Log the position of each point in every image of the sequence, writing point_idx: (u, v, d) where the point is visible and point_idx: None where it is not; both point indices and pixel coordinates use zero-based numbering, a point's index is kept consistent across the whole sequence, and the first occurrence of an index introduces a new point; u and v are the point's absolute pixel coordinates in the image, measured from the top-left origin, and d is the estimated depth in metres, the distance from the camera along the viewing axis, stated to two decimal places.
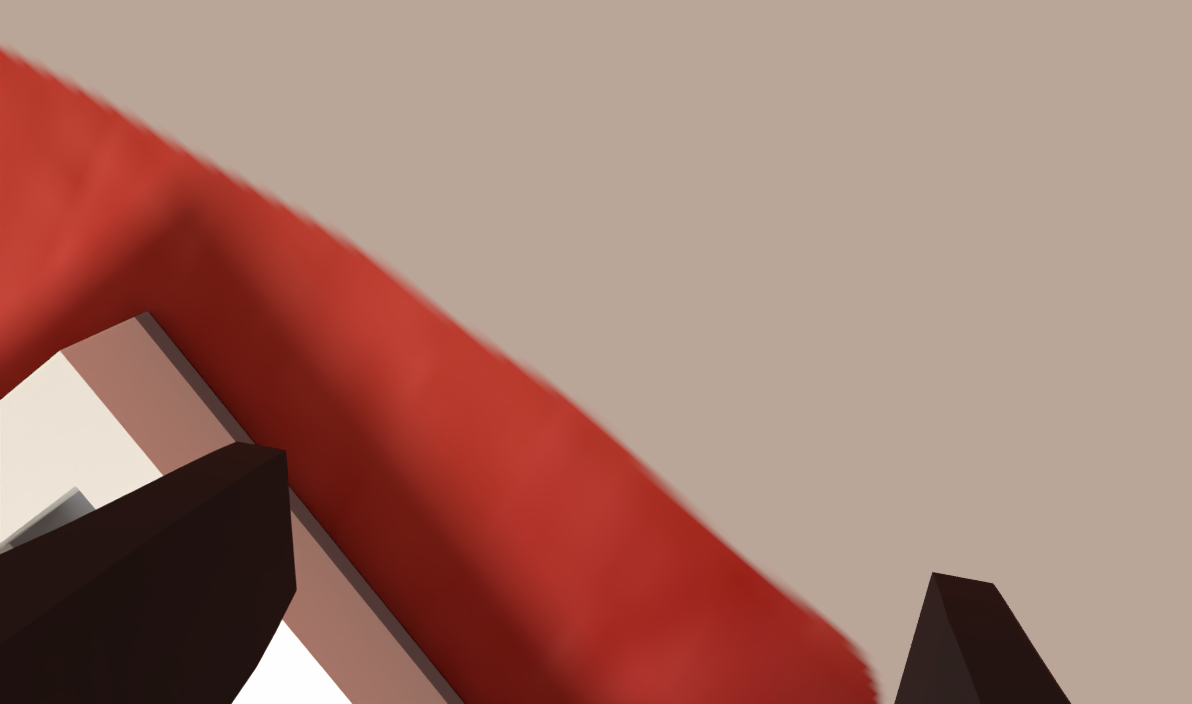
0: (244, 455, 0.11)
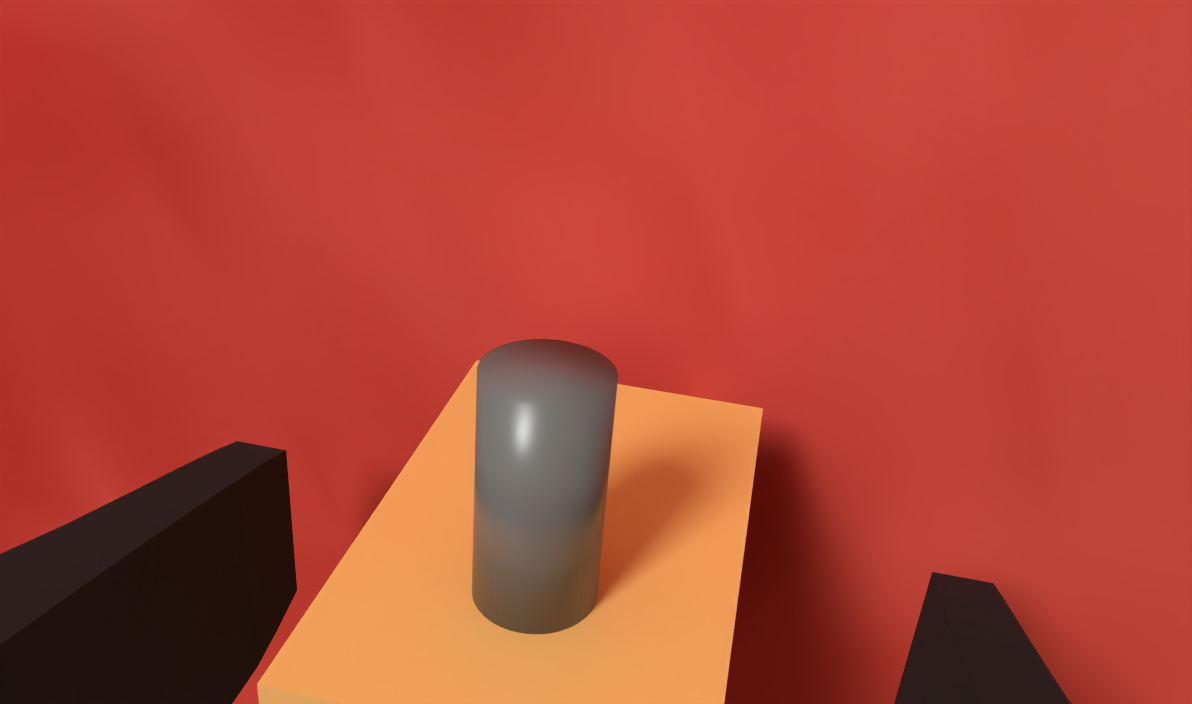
0: (244, 455, 0.11)
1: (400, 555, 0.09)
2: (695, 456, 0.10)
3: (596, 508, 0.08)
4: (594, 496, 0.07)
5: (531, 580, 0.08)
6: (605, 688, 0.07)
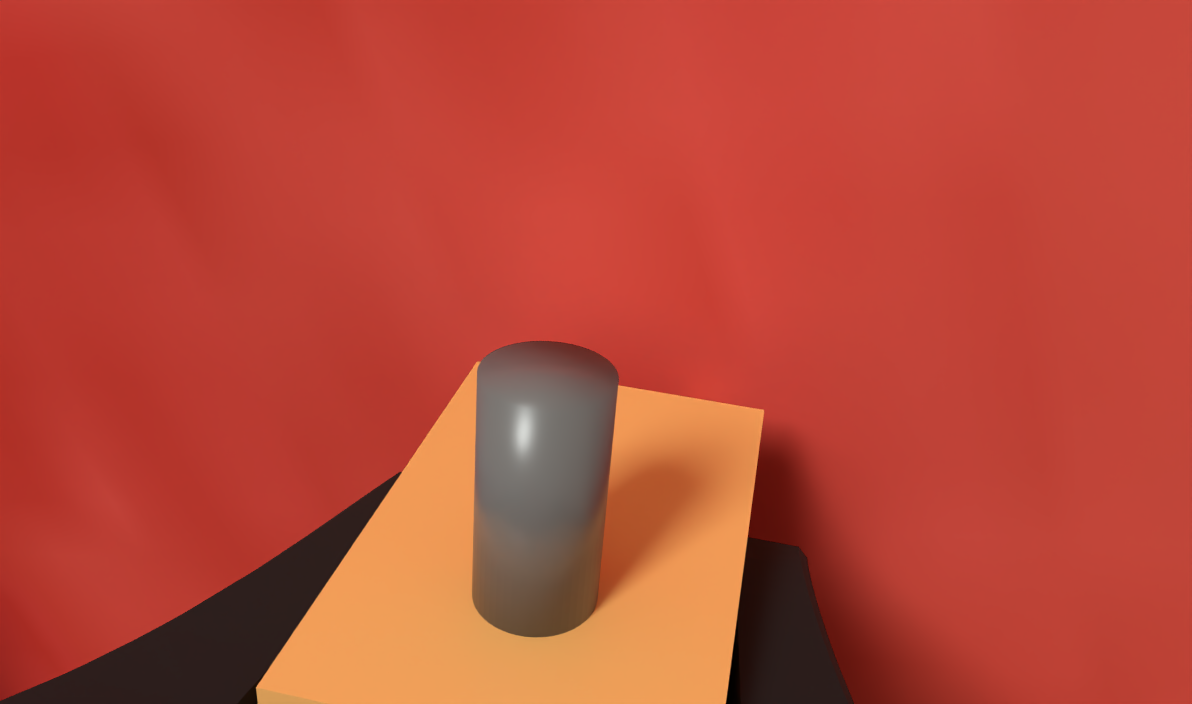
0: None
1: (400, 557, 0.08)
2: (697, 459, 0.10)
3: (596, 511, 0.08)
4: (594, 499, 0.07)
5: (531, 583, 0.08)
6: (605, 691, 0.07)
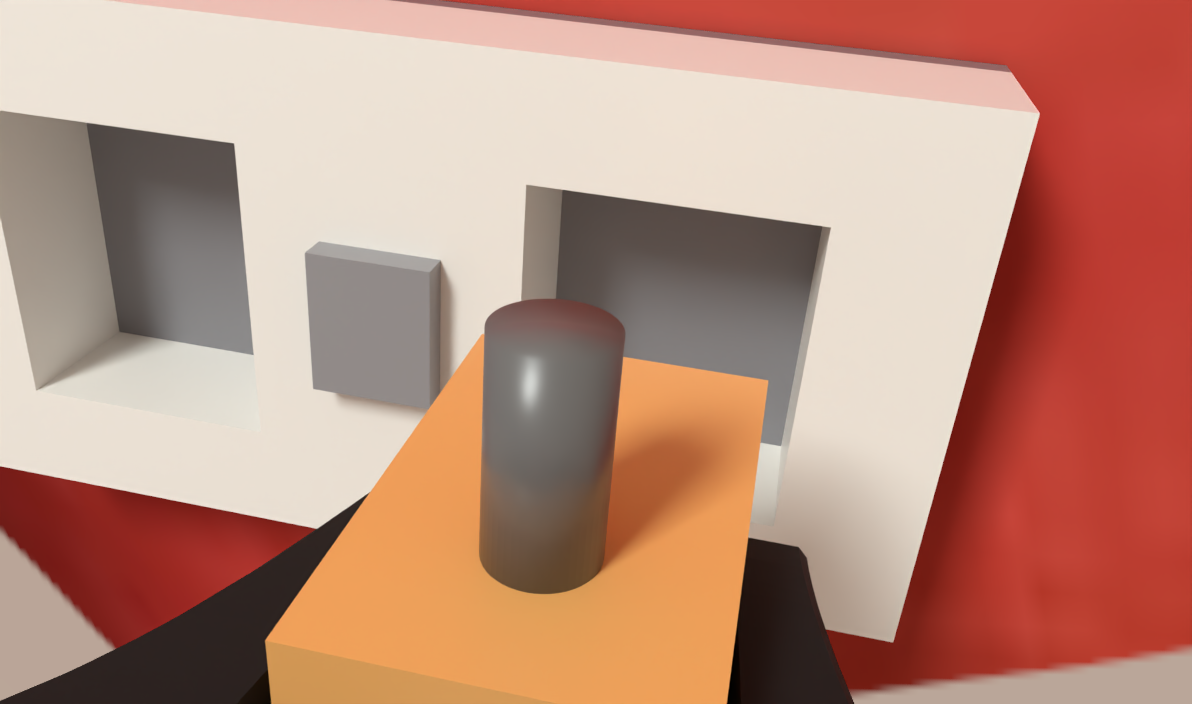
0: None
1: (407, 518, 0.09)
2: (702, 426, 0.10)
3: (604, 465, 0.08)
4: (602, 454, 0.07)
5: (539, 538, 0.08)
6: (614, 645, 0.07)
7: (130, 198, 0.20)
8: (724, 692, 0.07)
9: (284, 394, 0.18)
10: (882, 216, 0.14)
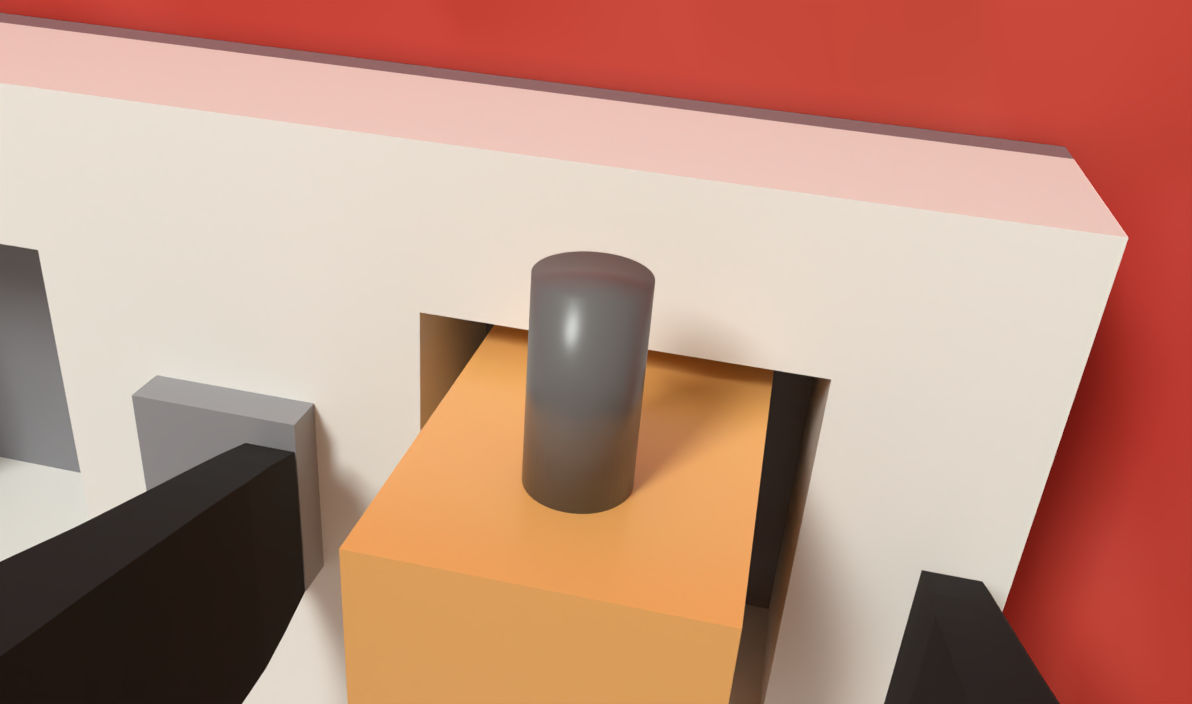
0: (253, 458, 0.11)
1: (456, 452, 0.10)
2: (718, 378, 0.11)
3: (634, 398, 0.09)
4: (633, 387, 0.08)
5: (577, 462, 0.09)
6: (645, 553, 0.08)
7: None
8: (742, 593, 0.08)
9: None
10: (902, 368, 0.10)
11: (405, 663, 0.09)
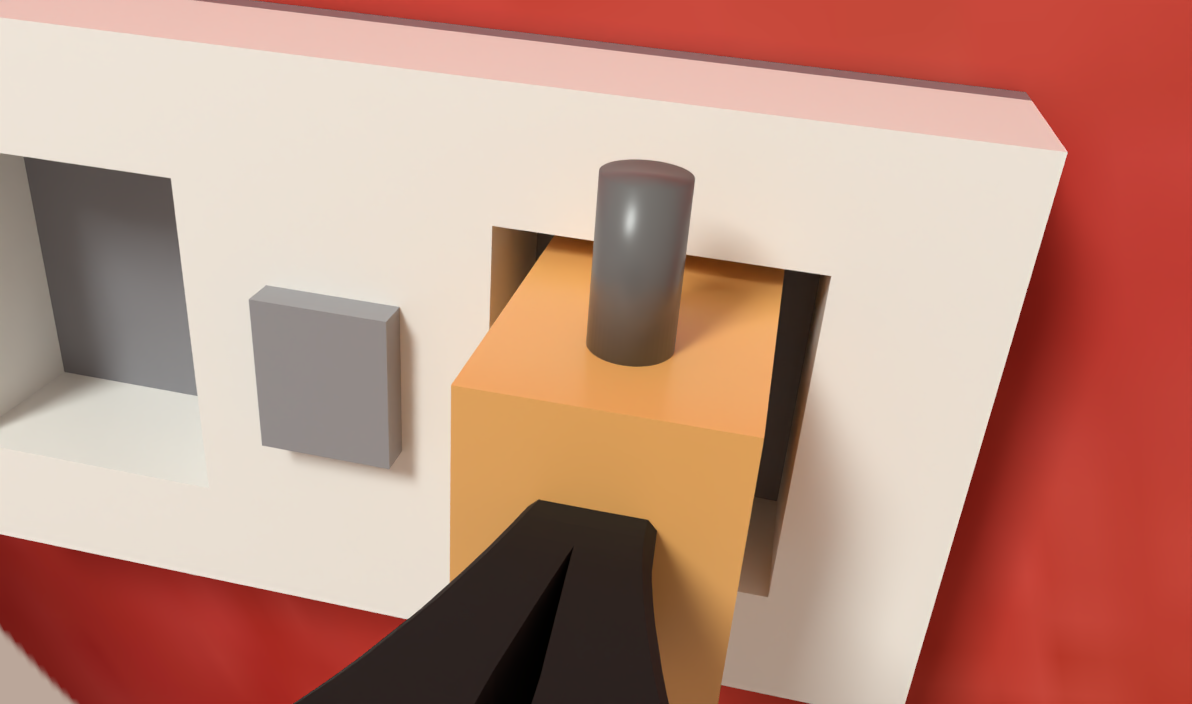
0: (559, 515, 0.11)
1: (532, 325, 0.12)
2: (738, 280, 0.14)
3: (679, 272, 0.11)
4: (678, 263, 0.11)
5: (633, 323, 0.11)
6: (687, 392, 0.11)
7: (71, 230, 0.18)
8: (764, 417, 0.10)
9: (233, 448, 0.16)
10: (888, 264, 0.13)
11: (498, 481, 0.11)
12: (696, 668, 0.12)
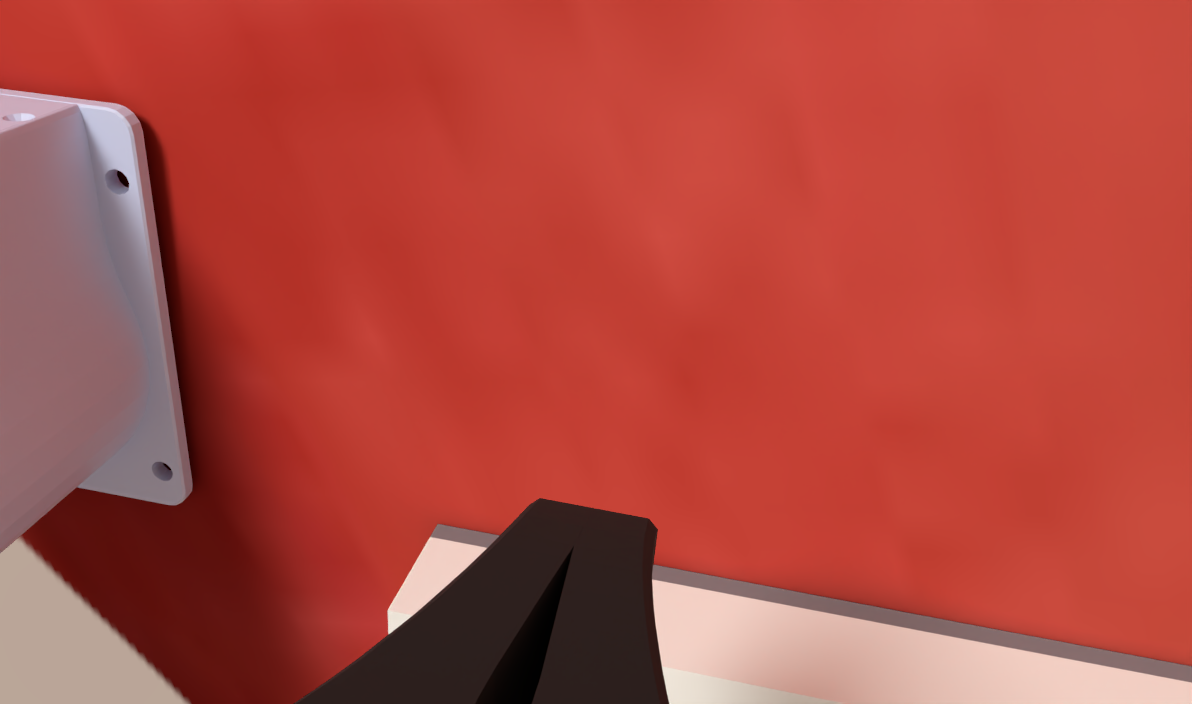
0: (559, 515, 0.11)
1: None
2: None
3: None
4: None
5: None
6: None
7: None
8: None
9: None
10: None
11: None
12: None
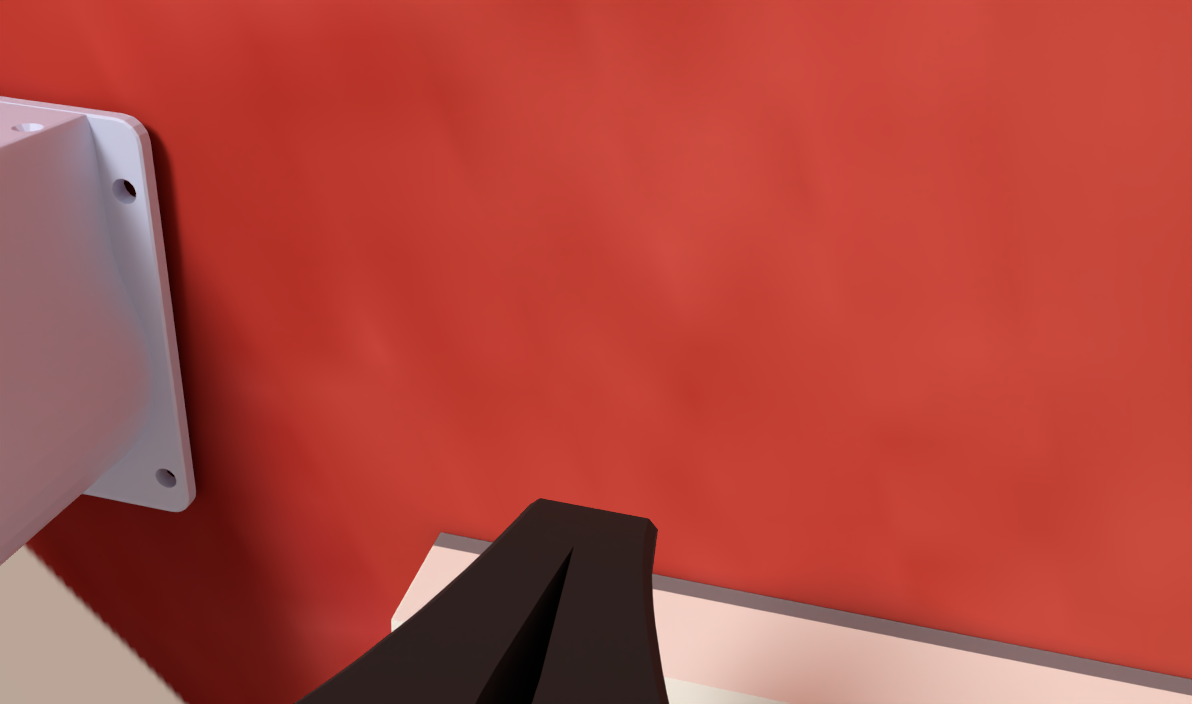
0: (559, 515, 0.11)
1: None
2: None
3: None
4: None
5: None
6: None
7: None
8: None
9: None
10: None
11: None
12: None
